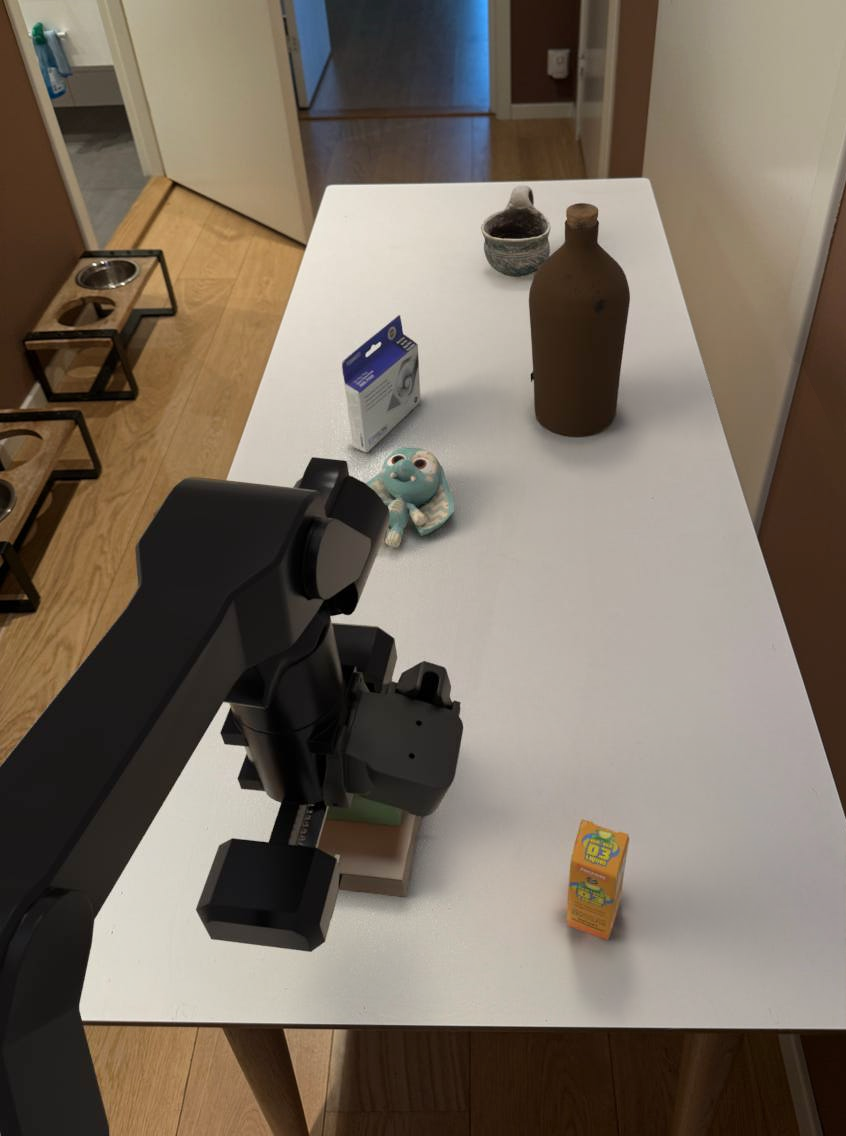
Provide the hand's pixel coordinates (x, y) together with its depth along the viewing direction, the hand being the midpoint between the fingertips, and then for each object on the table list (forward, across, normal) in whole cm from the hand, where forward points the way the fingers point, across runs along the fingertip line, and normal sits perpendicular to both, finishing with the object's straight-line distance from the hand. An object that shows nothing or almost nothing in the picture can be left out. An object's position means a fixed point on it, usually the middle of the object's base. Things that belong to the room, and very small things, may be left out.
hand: (330, 843), depth 58 cm
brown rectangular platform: (+13, +9, +2) cm, 16 cm away
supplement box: (+13, +4, -16) cm, 21 cm away
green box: (+10, +9, +2) cm, 14 cm away
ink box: (+13, +58, +10) cm, 60 cm away
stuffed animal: (+13, +43, +5) cm, 45 cm away
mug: (+13, +97, -1) cm, 98 cm away
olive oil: (+13, +62, -11) cm, 65 cm away
